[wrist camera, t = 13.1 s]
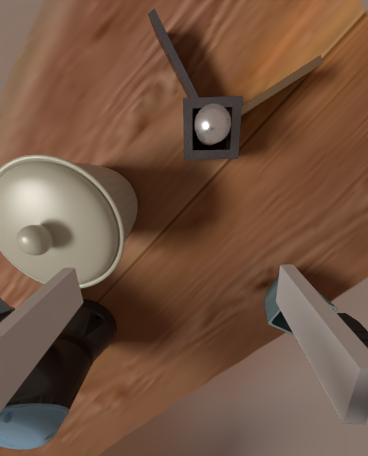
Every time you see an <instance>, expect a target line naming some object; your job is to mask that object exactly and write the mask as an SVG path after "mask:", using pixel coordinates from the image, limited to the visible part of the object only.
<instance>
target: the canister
mask: <svg viewBox="0 0 368 456" xmlns="http://www.w3.org/2000/svg"><path fill="white" fill-rule="evenodd" d="M137 201H138V200H137V198H136V194H135V192H134V189H133V188H132V186H131V184H130V183H129V182H128V181H127V179H125V178H124V177H123V176H122V175H120V174H119V173H118V172H116V171H113V170H112V169H109V168H106V167H103V166H96V165H89V164H81V163H72V162H70V161H68V160H65V159H62V158H59V157H55V156H50V155H27V156H22V157H19V158H16V159H14V160H11V161H10V162H8V163H6V164H5V165H3V166H2V167H1V168H0V251H1V252H2V253H3V255H4V256H5V257H6V258H7V259H8V260H9V261H10V262H11V263H12V264H13V265H14V266H15V267H16V268H17V269H19V270H20V271H21V272H23V273H24V274H26V275H27V276H29V277H30V278H32V279H34V280H36V281H38V282H41V283H43V284H46V283H47V282H48V281H49V280H50V279H51V278H53V277H54V276H55V275H56V274H57V273H58V272H60V271H61V270H62V269H63V268H75V270H76V274H77V278H78V282H79V286H80V288H85V287H89V286H92V285H95V284H97V283H99V282H101V281H102V280H104V279H105V278H107V277H108V276H109V275H110V274H111V273H112V272H113V271H114V269H115V268H116V266H117V265H118V263H119V261H120V259H121V257H122V253H123V250H124V243H125V241H126V239H127V237H128V235H129V233H130V232H131V229H132V227H133V225H134V223H135V220H136V218H137V213H138V204H137Z"/></svg>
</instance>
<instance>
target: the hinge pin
mask: <svg viewBox="0 0 368 456" xmlns="http://www.w3.org/2000/svg"><path fill="white" fill-rule="evenodd" d="M230 127H231V118H230V115H229V113H228V111H227V110H226V108H225V107H223V106H222V105H219V104H208V105H206V106H204V107H203V108H202V109H201V110H200V111H199V112H198V114H197V116H196V119H195V130H196V134H197V137H198V140H199V141H200V142H201V143H202V144H203V145H206V146H210V145H213V144H216V143H218V142H220V141H222V140H223V139H224V138H225V137H226V136H227V134H228V133H229V130H230Z"/></svg>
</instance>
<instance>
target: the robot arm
mask: <svg viewBox="0 0 368 456" xmlns="http://www.w3.org/2000/svg"><path fill="white" fill-rule="evenodd" d="M276 303H277V305H278V307H279V308H280V310H281V312H282V314H283V316H284V318H285V319H286V321H287V323H288V325H289V327H290V329H291V330H292V332H293V334H294V336H295V338H296V339H297V341H298V343H299V345H300V347H301V349H302V350H303V352H304V354H305V356H306V357H307V360H308V361H309V363H310V365H311V367H312V369H313V370H314V372H315V374H316V376H317V378H318V380H319V382H320V383H321V385H322V387H323V389H324V391H325V392H326V394H327V396H328V398H329V400H330V402H331V403H332V405H333V407H334V409H335V411H336V413H337V414H338V416H339V418H340V420H341V422H342V424H363V425H364V424H365V423H366V421H367V418H368V331H367V330H366V329H365V328H364V327H363V326H362V325H361V324H360V323H359V322H358V321H357V320H355V319H354V318H352V317H350V316H349V315H348V314H346V313H336V312H335V311H334V310H333V309H332V308H331V307H330V306H329V304H328V303H327V302H326V301H325V300H324V299H323V298H322V297H321V295H320V294H319V293H318V292H317V291H316V290H315V289H314V288H313V286H312V285H311V284H310V283H309V282H308V281H307V280H306V279H305V277H304V276H303V275H302V274H301V273H300V272H299V271H298V270H297V268H296V267H295V266H294V265H280V271H279V280H278V288H277V296H276ZM115 333H116V323H115V320H114V318H113V317H112V315H111V314H110V313H109V312H108V311H107V310H106V309H105V308H104V307H102V306H101V305H99V304H97V303H95V302H92V301H88V300H83V298H82V294H81V290H80V286H79V282H78V278H77V274H76V270H75V268H63V269H62V270H61V271H60V272H58V273H57V274H56V275H55V276H54V277H53V278H51V279H50V280H49V281H48V282H47V283H46V284H44V285H43V286H42V287H41V288H40V289H39V290H37V291H36V292H35V293H34V294H33V295H32V296H31V297H29V298H28V299H27V300H26V301H25V302H24V303H22V304H21V305H20V306H19V307H18V308H17V309H15V308H14V307H11V306H9V305H8V304H7V303H6V302H5V301H3V300H2V299H1V298H0V446H1V447H5V448H11V449H33V448H37V447H40V446H42V445H45V444H46V443H48V442H49V441H50V440H51V439H52V438H53V437H54V436H55V434H56V433H57V431H58V429H59V428H60V426H61V424H62V423H63V421H64V419H65V417H66V416H67V415H68V413H69V410H70V408H71V406H72V404H73V402H74V400H75V398H76V396H77V394H78V392H79V390H80V388H81V386H82V384H83V382H84V380H85V378H86V376H87V373H88V371H89V369H90V367H91V365H92V364H93V362H94V361H95V360H96V358H97V357H98V356H99V355H100V354H101V353H102V352H103V351H104V350H105V349H106V348H107V347H108V346H109V345H110V343H111V342H112V340H113V337H114V335H115Z"/></svg>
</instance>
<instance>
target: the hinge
mask: <svg viewBox="0 0 368 456" xmlns="http://www.w3.org/2000/svg"><path fill="white" fill-rule="evenodd" d="M148 16H149V18H150V21H151V23H152V26H153V29H154V31H155V34H156V36H157V39H158V41H159V43H160V45H161V46H162V48H163V50H164V52H165V54H166V56H167V58H168V60H169V62H170V64H171V66H172V68H173V70H174V72H175V74H176V76H177V77H178V79H179V81H180V83H181V85H182V87H183V89H184V91H185V93H186V95H187V97H188V98H183V117H184V159H238V154H239V140H240V126H241V117H242V116H243V115H245V114H247V113H248V112H250V111H251V110H253V109H254V108H256V107H258V106H259V105H261V104H262V103H264V102H265V101H267V100H269V99H270V98H272V97H273V96H275V95H276V94H278V93H280V92H281V91H283V90H284V89H286V88H287V87H289V86H291V85H292V84H294V83H295V82H297V81H298V80H300V79H302V78H303V77H304V76H306V75H307V74H309V73H310V72H311V71H313V70H314V69H316V68H317V67H318V66H320V65H321V64H323V61H322V58H321V55H320V56H318V57H317V58H315V59H314V60H312V61H311V62H309V63H308V64H306V65H304V66H303V67H301V68H300V69H298V70H297V71H295V72H294V73H292V74H291V75H289V76H287V77H286V78H284V79H283V80H281V81H280V82H278V83H277V84H275V85H274V86H272V87H271V88H269V89H267V90H266V91H264V92H263V93H261V94H260V95H258V96H257V97H255V98H254V99H252V100H250V101H249V102H247V103H246V104H244V105H243V106H242V98H243V96H228V97H198V95H197V93H196V91H195V89H194V87H193V85H192V83H191V81H190V79H189V77H188V75H187V73H186V71H185V69H184V67H183V65H182V63H181V61H180V59H179V57H178V55H177V53H176V51H175V49H174V47H173V45H172V43H171V41H170V39H169V37H168V35H167V33H166V31H165V29H164V27H163V25H162V23H161V21H160V19H159V17H158V15H157V13H156V11H155V9H153V10H152V11H151V12H150V13H149V14H148ZM208 104H219V105H222V106H223V107H225V108H226V110H227V111H228V113H229V115H230V118H231V127H230V130H229V133H228V134H227V136H226V138H225V150H194V116H197V114H198V112H199V111H200V110H201V109H202V108H203V107H204V106H206V105H208Z"/></svg>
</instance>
